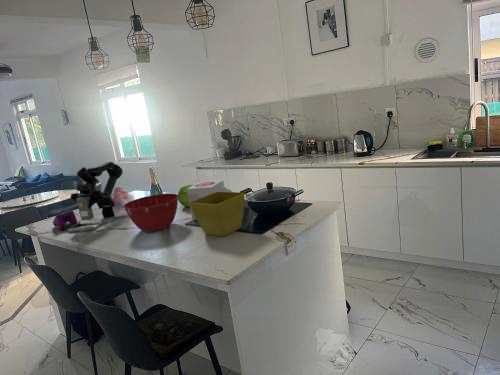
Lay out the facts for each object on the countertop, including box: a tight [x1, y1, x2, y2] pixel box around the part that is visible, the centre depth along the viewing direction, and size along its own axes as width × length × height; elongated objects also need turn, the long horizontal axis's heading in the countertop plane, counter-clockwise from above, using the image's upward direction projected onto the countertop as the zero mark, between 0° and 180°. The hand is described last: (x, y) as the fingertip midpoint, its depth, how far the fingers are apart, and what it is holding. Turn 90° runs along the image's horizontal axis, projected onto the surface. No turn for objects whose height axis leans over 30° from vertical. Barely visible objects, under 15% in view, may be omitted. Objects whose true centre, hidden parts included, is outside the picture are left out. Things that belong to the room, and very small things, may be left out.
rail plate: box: [67, 220, 103, 234], centre depth 218 cm, size 16×10×3 cm, turn 81°
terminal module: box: [75, 196, 95, 222], centre depth 215 cm, size 5×6×13 cm
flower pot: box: [190, 191, 245, 237], centre depth 175 cm, size 19×19×17 cm
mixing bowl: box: [123, 193, 179, 233], centre depth 197 cm, size 28×28×15 cm
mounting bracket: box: [52, 210, 78, 231], centre depth 230 cm, size 10×9×19 cm
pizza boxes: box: [187, 180, 233, 221], centre depth 207 cm, size 19×30×18 cm, turn 139°
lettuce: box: [177, 184, 194, 208], centre depth 229 cm, size 15×22×15 cm
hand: (84, 208), depth 215 cm, fingers closed on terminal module, 5 cm apart
